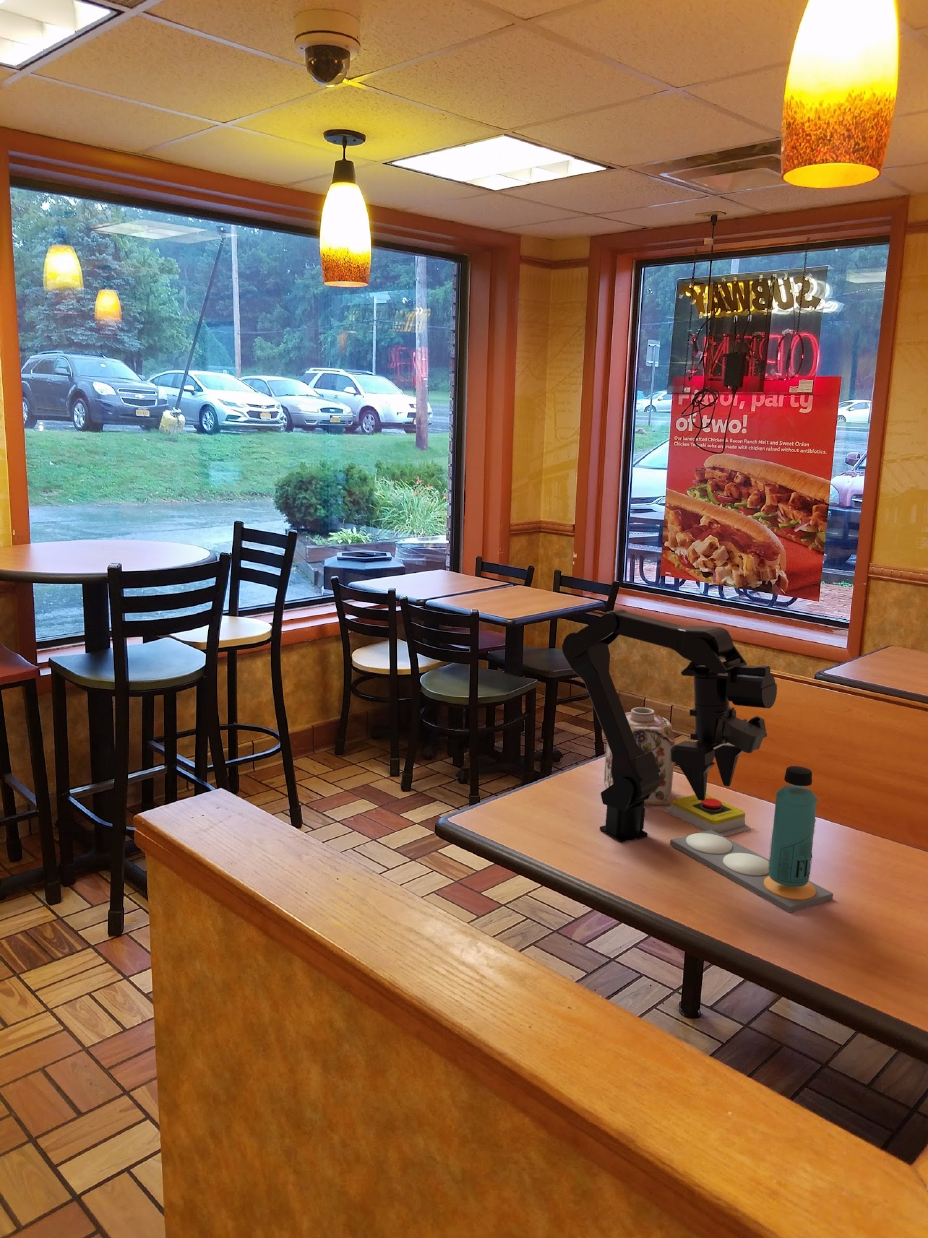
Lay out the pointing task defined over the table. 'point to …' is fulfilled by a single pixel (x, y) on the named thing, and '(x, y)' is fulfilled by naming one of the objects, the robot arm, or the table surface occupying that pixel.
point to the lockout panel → (748, 870)
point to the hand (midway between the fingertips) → (714, 793)
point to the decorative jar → (650, 737)
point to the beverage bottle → (793, 829)
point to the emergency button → (709, 814)
